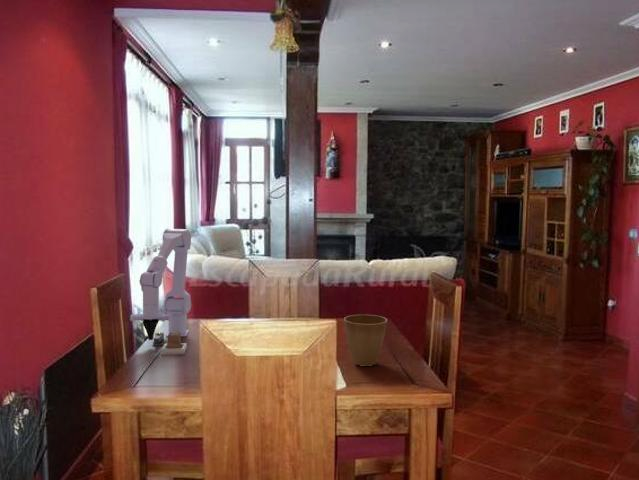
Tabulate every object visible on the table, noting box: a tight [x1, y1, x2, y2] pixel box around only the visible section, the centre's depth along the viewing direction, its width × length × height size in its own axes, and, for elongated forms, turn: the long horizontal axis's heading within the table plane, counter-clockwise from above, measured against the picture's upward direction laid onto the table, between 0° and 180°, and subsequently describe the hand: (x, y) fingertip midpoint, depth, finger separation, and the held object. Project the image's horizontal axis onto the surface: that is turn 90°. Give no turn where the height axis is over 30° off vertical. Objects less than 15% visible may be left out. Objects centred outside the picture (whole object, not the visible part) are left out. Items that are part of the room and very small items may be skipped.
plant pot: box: [343, 314, 388, 366], centre depth 183 cm, size 15×15×16 cm
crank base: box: [152, 332, 179, 347], centre depth 203 cm, size 6×10×4 cm, turn 97°
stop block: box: [167, 333, 182, 349], centre depth 193 cm, size 4×4×6 cm
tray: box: [160, 342, 188, 356], centre depth 193 cm, size 8×8×2 cm
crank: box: [153, 331, 165, 344], centre depth 199 cm, size 9×3×3 cm, turn 7°
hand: (150, 339), depth 198 cm, fingers closed
